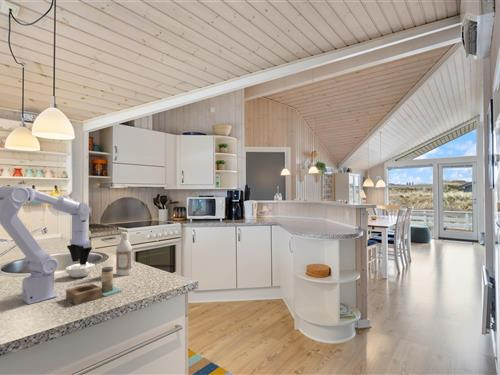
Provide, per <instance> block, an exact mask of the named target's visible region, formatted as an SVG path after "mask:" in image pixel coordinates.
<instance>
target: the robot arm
mask: <svg viewBox="0 0 500 375" xmlns="http://www.w3.org/2000/svg"><path fill="white" fill-rule="evenodd" d="M28 201H36V202H39V203H43V204H47V205H50V206H52V207H53V209H54V210H56V211H60V212H63V213H66V214H69V215H70V216H71V238H70V239H69V244H68V245H66V248H67V249H68V251H69V253H70V256H71V260H72V263H74V262H79V264H80V265H83V264H86V262H88V258H89V255H90V253H91V251H92V250H93V247H92V246H90V242H91V240H90V239H88V219H89V215H90V214H91V211H92V209H91V208H90V206H89V205H88V203H86V202H80V201H79V200H78V199H71V198H69V196H68V195H60V196H57V197H56V196H54V195H51V194H48V193H45V192H42V191H40V190H38V189H34V188H31V187H26V186H22V185H12V186H11V185H2V186H0V226H2V228H3V229H4V230H5V232H6V233H7V234H8V236H9V237H10V238H11V239H12V241H13V242H14V243H15V244H16V246H17V247H18V248H19V249H20V252H22V254H23V255H24V256H25V257H24V260H25V262H26V267H27V269H28V270H29V271H30V275H29V276H26V277H23V279H22V288H21V290H22V291H21V292H22V294H21V296H22V297H21V300H22V301H23V302H25V303H26V304H28V305H30V304H35V303H38V302H42V301H46V300H49V299H54V298H57V297H59V294H57V293H55V272H56V271H57V270H58V268H59V261H58V259H56V258H55V257H52V255H50V254H49V252H47V251H45V250H44V249H43V248H42V247H41V245H40V244H39V243H38V241H37V240H36V238H35V237H34V236H33V235H32V233H31V232H30V231H29V229H28V228H27V226H26V225H25V224H24V223H23V221H22V220H21V218H20V217H19V216H18V214H19V212H20V210H21V209H22V208H23V206H24V205H25V203H27V202H28Z"/></svg>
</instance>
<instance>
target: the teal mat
mask: <svg viewBox="0 0 500 375" xmlns="http://www.w3.org/2000/svg"><path fill="white" fill-rule="evenodd" d="M122 292H123V290H122V289H120V288H118V287H115V286H113V290H112V291H110V292H102V297H103V298H104V297H109V296H112V295H115V294H116V295H117V294H119V293H122Z"/></svg>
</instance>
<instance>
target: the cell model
mask: <svg viewBox="0 0 500 375" xmlns="http://www.w3.org/2000/svg"><path fill="white" fill-rule="evenodd" d="M95 265H96V264H95V263H92V262H88V261H87V262H86V264H83V265H80V263H75V264H71V265H69V266H67V267H65V271H66V274H68V275H69V276H70V277H72V278H82V277H83V278H84V277H86V276H88V275H89V274H90V273H91V272H92V271H93V270H94V267H95Z"/></svg>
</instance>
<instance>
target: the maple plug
mask: <svg viewBox="0 0 500 375" xmlns="http://www.w3.org/2000/svg"><path fill="white" fill-rule="evenodd" d="M113 287H114V267H113V266H105V267H102V268H101V288H102V292H110V291H112V290H113Z"/></svg>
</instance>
